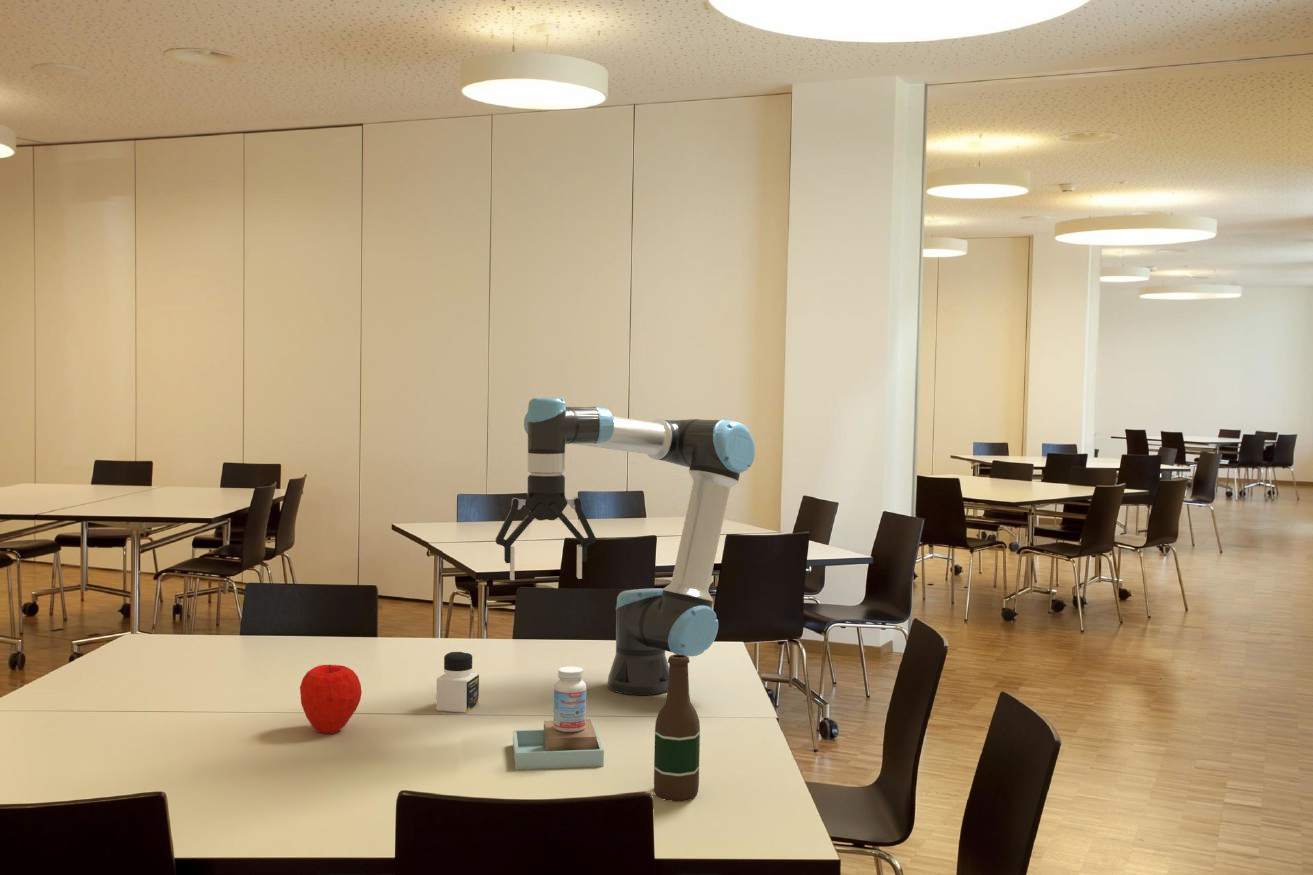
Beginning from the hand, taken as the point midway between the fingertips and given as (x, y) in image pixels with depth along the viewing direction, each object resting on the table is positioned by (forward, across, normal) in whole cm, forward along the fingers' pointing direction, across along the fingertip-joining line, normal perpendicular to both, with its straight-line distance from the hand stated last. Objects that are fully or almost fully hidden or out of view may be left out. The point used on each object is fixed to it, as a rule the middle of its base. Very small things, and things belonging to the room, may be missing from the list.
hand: (545, 578), depth 224 cm
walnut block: (+30, -3, +18) cm, 36 cm away
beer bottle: (+31, -19, +40) cm, 54 cm away
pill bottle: (+26, -3, +18) cm, 31 cm away
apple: (+31, +43, -5) cm, 53 cm away
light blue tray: (+31, -1, +18) cm, 36 cm away
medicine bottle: (+31, +18, -18) cm, 40 cm away
